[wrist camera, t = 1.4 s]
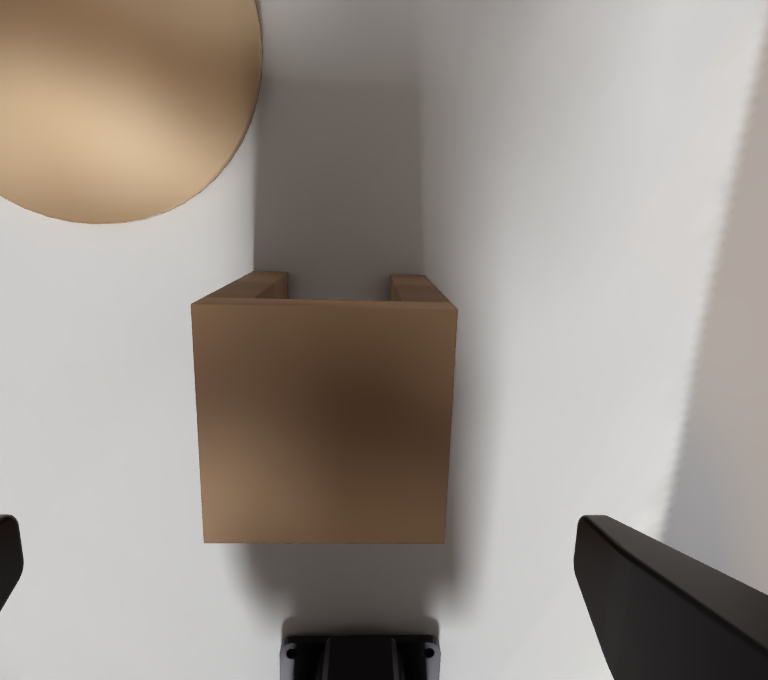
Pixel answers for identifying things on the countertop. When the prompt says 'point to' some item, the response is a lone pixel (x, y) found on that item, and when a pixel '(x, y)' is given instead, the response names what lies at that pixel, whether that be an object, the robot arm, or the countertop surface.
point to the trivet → (122, 102)
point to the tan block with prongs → (323, 413)
